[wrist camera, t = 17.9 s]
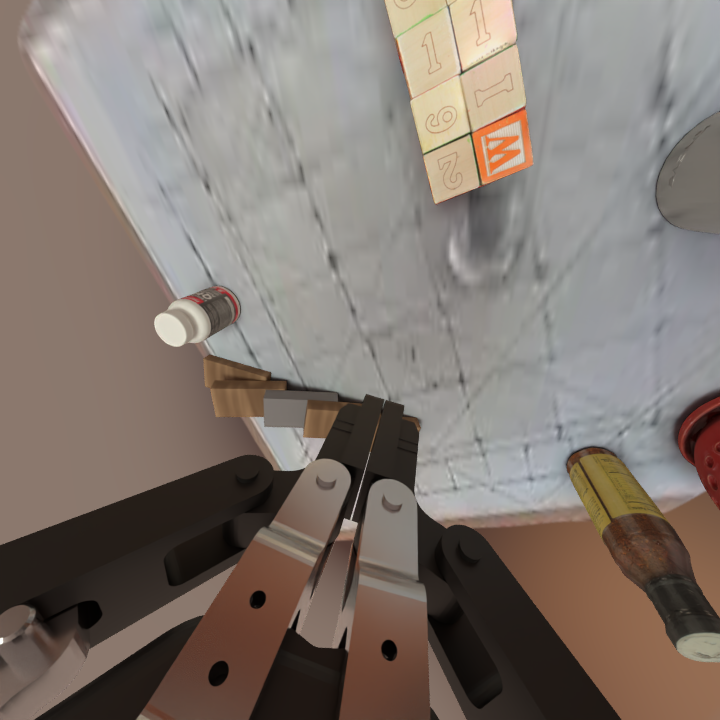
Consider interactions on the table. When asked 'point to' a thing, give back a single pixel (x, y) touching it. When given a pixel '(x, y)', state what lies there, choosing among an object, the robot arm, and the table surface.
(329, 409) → the walnut domino
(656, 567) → the sauce bottle
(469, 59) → the stack of blocks
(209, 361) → the walnut domino
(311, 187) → the table surface
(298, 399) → the charcoal domino
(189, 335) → the pill bottle
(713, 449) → the plant pot
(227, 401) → the walnut domino
